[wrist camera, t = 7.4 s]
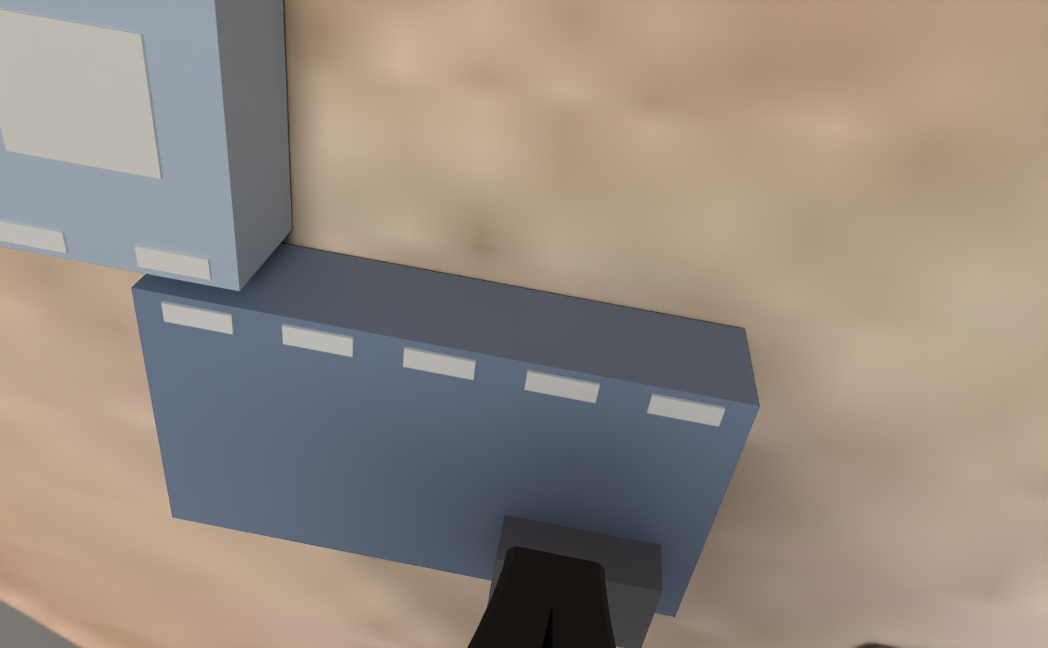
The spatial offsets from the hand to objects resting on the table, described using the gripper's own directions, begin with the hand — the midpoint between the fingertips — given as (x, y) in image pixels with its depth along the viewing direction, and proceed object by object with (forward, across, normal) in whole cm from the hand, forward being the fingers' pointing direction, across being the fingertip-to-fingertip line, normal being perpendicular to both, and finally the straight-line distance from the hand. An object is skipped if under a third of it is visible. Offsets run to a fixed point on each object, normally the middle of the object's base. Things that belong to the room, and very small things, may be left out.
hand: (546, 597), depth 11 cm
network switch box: (+9, +3, +4) cm, 11 cm away
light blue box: (+9, +10, -3) cm, 14 cm away
